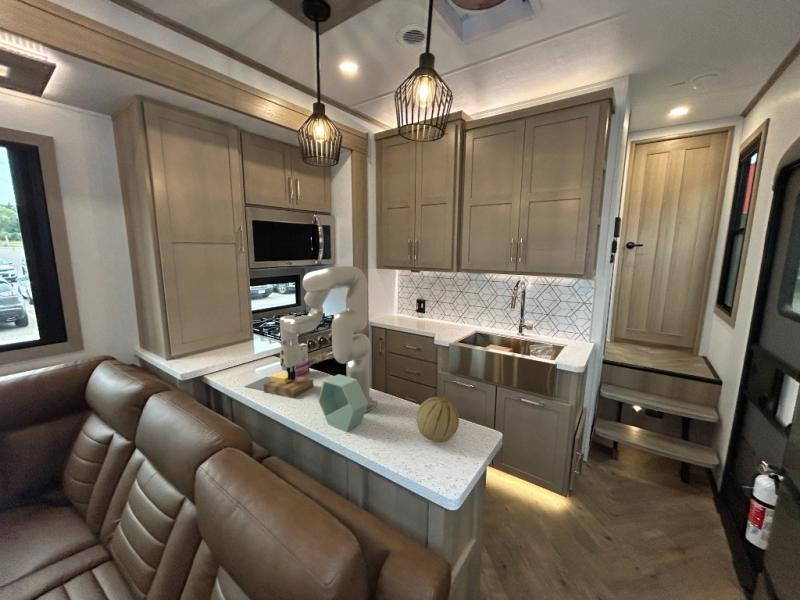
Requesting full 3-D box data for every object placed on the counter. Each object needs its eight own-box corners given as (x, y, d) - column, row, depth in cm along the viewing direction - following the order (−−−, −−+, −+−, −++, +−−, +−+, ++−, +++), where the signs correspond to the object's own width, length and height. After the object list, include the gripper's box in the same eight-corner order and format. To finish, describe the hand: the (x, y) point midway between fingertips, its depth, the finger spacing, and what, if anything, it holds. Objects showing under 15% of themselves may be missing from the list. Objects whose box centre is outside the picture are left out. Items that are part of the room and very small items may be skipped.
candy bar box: (304, 371, 183) (302, 342, 181) (310, 373, 180) (308, 344, 178) (286, 377, 174) (285, 347, 172) (292, 379, 171) (290, 349, 169)
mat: (286, 380, 169) (286, 380, 169) (265, 391, 156) (265, 390, 156) (266, 377, 175) (266, 376, 175) (244, 386, 162) (244, 386, 162)
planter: (333, 437, 124) (312, 387, 128) (348, 428, 130) (327, 381, 134) (360, 426, 114) (335, 372, 119) (374, 417, 120) (351, 366, 125)
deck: (313, 386, 161) (313, 379, 160) (293, 398, 148) (293, 390, 148) (285, 381, 168) (284, 374, 167) (264, 392, 155) (263, 384, 155)
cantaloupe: (407, 438, 115) (407, 398, 113) (434, 423, 125) (434, 385, 123) (441, 456, 104) (441, 412, 102) (467, 438, 114) (467, 397, 112)
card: (293, 379, 160) (293, 374, 160) (284, 383, 155) (284, 378, 154) (279, 376, 164) (279, 372, 163) (270, 381, 158) (270, 376, 158)
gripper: (284, 346, 146) (286, 386, 148) (306, 338, 159) (308, 374, 162) (271, 345, 149) (274, 383, 151) (294, 337, 162) (296, 372, 165)
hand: (291, 379), depth 157 cm, fingers closed
